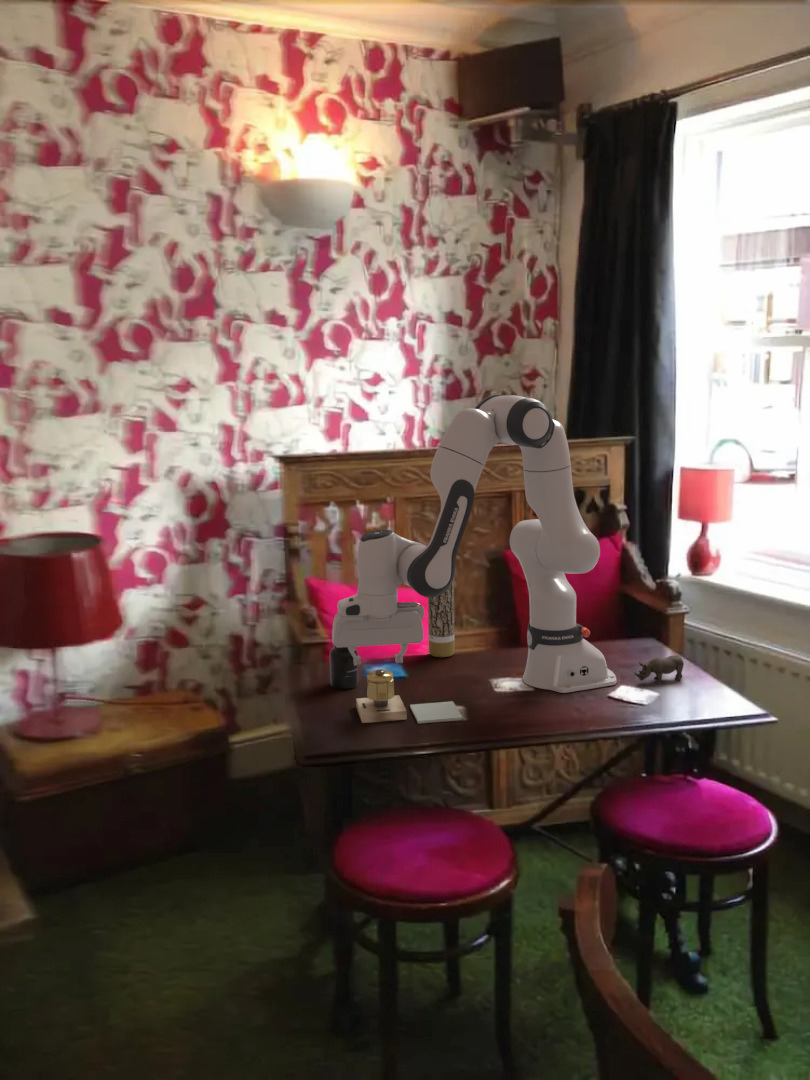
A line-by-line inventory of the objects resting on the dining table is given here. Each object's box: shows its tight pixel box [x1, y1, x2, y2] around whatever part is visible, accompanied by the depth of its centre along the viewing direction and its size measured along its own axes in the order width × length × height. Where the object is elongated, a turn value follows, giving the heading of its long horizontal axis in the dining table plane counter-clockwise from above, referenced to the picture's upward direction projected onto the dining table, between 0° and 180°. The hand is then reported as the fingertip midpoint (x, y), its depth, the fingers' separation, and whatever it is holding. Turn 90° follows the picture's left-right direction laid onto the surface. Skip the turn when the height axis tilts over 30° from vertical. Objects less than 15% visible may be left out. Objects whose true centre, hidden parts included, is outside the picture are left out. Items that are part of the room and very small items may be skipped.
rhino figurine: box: [634, 655, 685, 684], centre depth 245 cm, size 4×14×6 cm, turn 107°
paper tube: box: [427, 579, 456, 658], centre depth 266 cm, size 7×7×25 cm
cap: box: [366, 668, 395, 701], centre depth 227 cm, size 6×7×6 cm
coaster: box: [409, 700, 464, 725], centre depth 228 cm, size 10×10×1 cm
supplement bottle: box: [329, 643, 359, 690], centre depth 246 cm, size 7×7×12 cm
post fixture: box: [355, 694, 408, 724], centre depth 228 cm, size 10×10×8 cm
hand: (378, 663), depth 226 cm, fingers open, 8 cm apart
